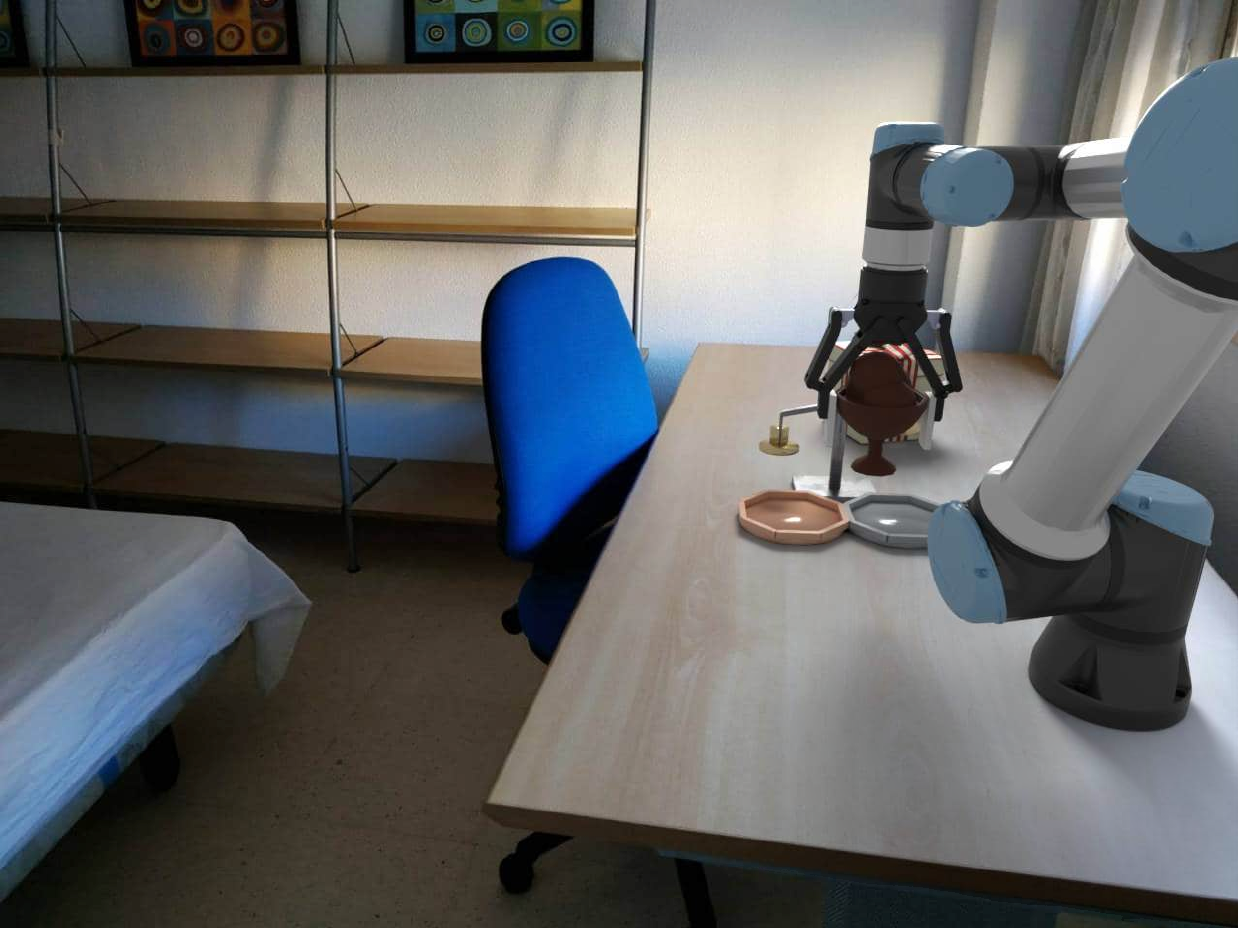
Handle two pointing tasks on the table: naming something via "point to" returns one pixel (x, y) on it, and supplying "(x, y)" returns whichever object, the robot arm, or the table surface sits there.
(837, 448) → the balance
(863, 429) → the ice cream bowl
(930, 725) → the table surface
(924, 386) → the gift box
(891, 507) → the slate dish
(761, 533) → the terracotta dish
